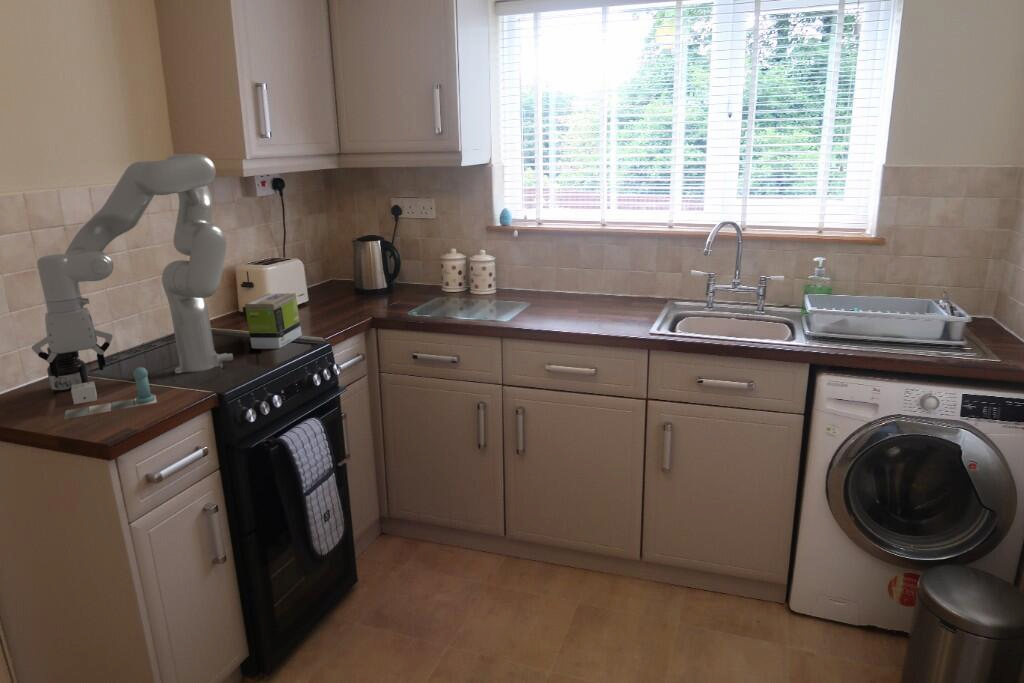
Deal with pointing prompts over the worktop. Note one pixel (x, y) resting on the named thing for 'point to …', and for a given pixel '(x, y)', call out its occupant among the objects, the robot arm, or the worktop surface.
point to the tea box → (273, 320)
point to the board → (104, 408)
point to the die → (84, 392)
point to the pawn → (142, 385)
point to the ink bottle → (67, 372)
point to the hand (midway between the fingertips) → (79, 372)
